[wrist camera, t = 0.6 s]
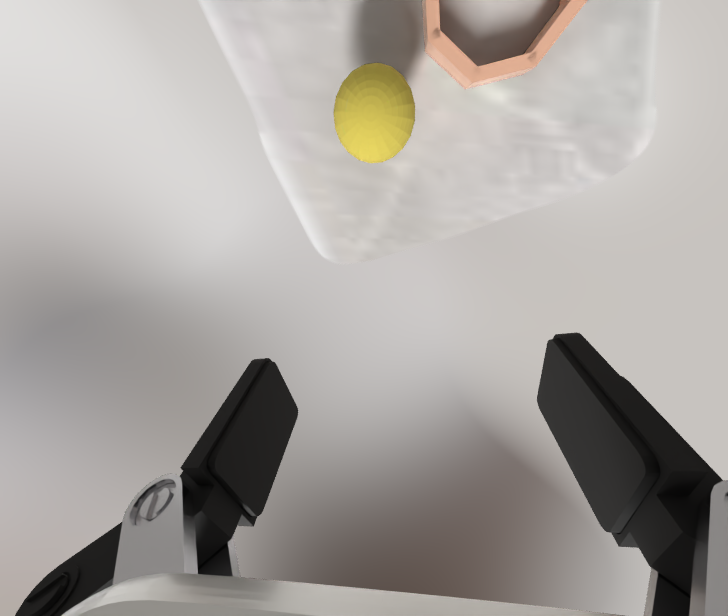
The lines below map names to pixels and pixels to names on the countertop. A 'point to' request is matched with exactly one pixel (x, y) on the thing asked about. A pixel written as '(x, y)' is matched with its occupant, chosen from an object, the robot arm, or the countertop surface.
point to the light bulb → (374, 112)
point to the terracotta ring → (474, 75)
